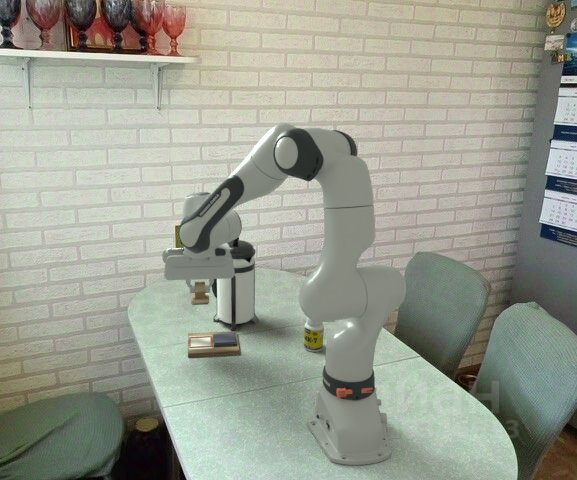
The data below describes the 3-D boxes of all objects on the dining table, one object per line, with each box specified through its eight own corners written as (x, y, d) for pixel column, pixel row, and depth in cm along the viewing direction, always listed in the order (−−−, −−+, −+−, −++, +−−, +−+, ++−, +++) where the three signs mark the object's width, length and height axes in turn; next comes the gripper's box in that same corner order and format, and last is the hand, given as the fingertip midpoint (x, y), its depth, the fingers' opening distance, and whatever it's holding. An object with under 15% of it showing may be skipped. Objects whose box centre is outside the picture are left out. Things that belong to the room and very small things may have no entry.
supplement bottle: (300, 349, 171) (301, 318, 168) (308, 341, 175) (309, 311, 172) (318, 354, 168) (319, 322, 165) (325, 346, 173) (327, 315, 170)
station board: (239, 354, 167) (239, 347, 166) (188, 357, 164) (187, 350, 164) (236, 334, 179) (236, 327, 178) (188, 336, 176) (188, 330, 176)
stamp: (209, 304, 165) (209, 285, 163) (191, 305, 164) (190, 286, 162) (208, 297, 170) (208, 279, 168) (191, 298, 169) (190, 279, 167)
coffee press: (261, 312, 196) (262, 228, 187) (254, 332, 180) (255, 243, 172) (212, 309, 197) (211, 226, 188) (201, 329, 182) (199, 240, 173)
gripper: (161, 252, 157) (163, 297, 161) (235, 250, 161) (235, 295, 165) (162, 245, 163) (164, 289, 167) (233, 243, 167) (233, 287, 171)
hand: (200, 292), depth 166 cm, fingers closed on stamp, 3 cm apart
